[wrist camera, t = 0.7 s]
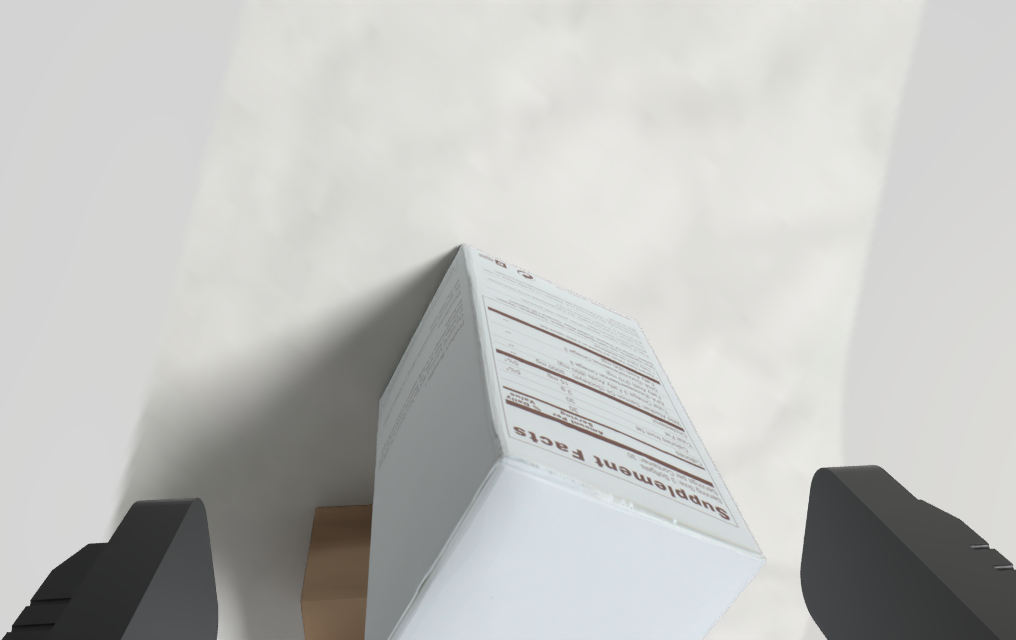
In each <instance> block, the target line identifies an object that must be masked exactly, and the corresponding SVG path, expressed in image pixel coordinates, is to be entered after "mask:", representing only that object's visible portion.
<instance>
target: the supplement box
mask: <svg viewBox="0 0 1016 640" xmlns="http://www.w3.org/2000/svg"><path fill="white" fill-rule="evenodd" d="M765 563H766V558H765V557H764V555H763V553H762V551H761V549H760V547H759V546H758V544H757V542H756V540H755V538H754V536H753V534H752V533H751V531H750V529H749V527H748V525H747V524H746V522H745V520H744V518H743V516H742V514H741V512H740V510H739V508H738V506H737V505H736V503H735V501H734V499H733V497H732V495H731V494H730V492H729V490H728V488H727V486H726V484H725V483H724V481H723V479H722V477H721V475H720V473H719V471H718V469H717V467H716V466H715V464H714V462H713V460H712V458H711V457H710V455H709V453H708V451H707V449H706V447H705V445H704V444H703V442H702V440H701V438H700V436H699V435H698V433H697V431H696V429H695V427H694V425H693V424H692V422H691V420H690V418H689V416H688V414H687V412H686V410H685V409H684V407H683V405H682V403H681V401H680V399H679V397H678V395H677V394H676V392H675V390H674V388H673V386H672V385H671V382H670V380H669V378H668V376H667V375H666V373H665V371H664V369H663V367H662V366H661V364H660V362H659V360H658V358H657V356H656V354H655V352H654V350H653V349H652V347H651V345H650V343H649V341H648V339H647V337H646V336H645V334H644V332H643V330H642V328H641V327H640V325H639V323H638V322H637V321H636V320H634V319H632V318H629V317H627V316H624V315H622V314H620V313H618V312H616V311H614V310H612V309H610V308H607V307H605V306H603V305H601V304H598V303H596V302H594V301H592V300H590V299H588V298H585V297H583V296H581V295H578V294H576V293H574V292H572V291H569V290H567V289H565V288H563V287H561V286H559V285H556V284H554V283H552V282H550V281H547V280H545V279H543V278H541V277H539V276H536V275H534V274H532V273H530V272H528V271H525V270H523V269H521V268H519V267H517V266H514V265H512V264H510V263H507V262H505V261H503V260H501V259H498V258H496V257H493V256H491V255H489V254H487V253H485V252H483V251H481V250H478V249H476V248H474V247H471V246H469V245H466V244H464V245H462V246H461V247H460V249H459V251H458V253H457V255H456V256H455V258H454V260H453V262H452V264H451V265H450V267H449V269H448V271H447V272H446V274H445V276H444V278H443V280H442V282H441V284H440V285H439V287H438V289H437V291H436V293H435V295H434V297H433V299H432V301H431V303H430V304H429V306H428V308H427V310H426V312H425V314H424V316H423V318H422V320H421V322H420V324H419V326H418V327H417V329H416V331H415V333H414V335H413V337H412V339H411V341H410V343H409V345H408V347H407V349H406V351H405V352H404V354H403V356H402V358H401V360H400V362H399V364H398V366H397V368H396V370H395V372H394V374H393V376H392V378H391V380H390V381H389V383H388V385H387V387H386V389H385V391H384V393H383V395H382V397H381V398H380V400H379V416H378V429H377V448H376V465H375V480H374V496H373V511H372V527H371V544H370V558H369V576H368V592H367V607H366V622H365V637H364V640H703V638H704V637H705V636H706V635H707V633H708V632H709V631H710V630H711V629H712V627H713V626H714V625H715V624H716V622H717V621H718V620H719V619H720V617H721V616H722V615H723V614H724V613H725V611H726V610H727V609H728V608H729V607H730V605H731V604H732V603H733V602H734V601H735V599H736V598H737V597H738V596H739V595H740V593H741V592H742V591H743V590H744V589H745V587H746V586H747V585H748V583H749V582H750V581H751V580H752V579H753V578H754V576H755V575H756V574H757V573H758V572H759V570H760V569H761V568H762V567H763V566H764V564H765Z"/></svg>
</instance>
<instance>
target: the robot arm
mask: <svg viewBox="0 0 1016 640" xmlns="http://www.w3.org/2000/svg"><path fill="white" fill-rule="evenodd" d="M800 575H801V586H802V592H803V597H804V600H805V603H806V606H807V608H808V611H809V613H810V615H811V616H812V618H813V620H814V621H815V623H816V624H817V625H818V627H819V628H820V630H821V631H822V632H823V634H824V635H825V637H826V638H827V640H1016V570H1014V569H1013V564H1012V563H1011V562H1010V561H1008V560H1007V559H1006V558H1005V557H1004V556H1003V555H1001V554H1000V553H999V552H998V551H996V550H995V549H990V548H989V544H988V543H987V542H986V541H985V540H984V539H983V538H981V537H980V536H979V535H978V534H977V533H975V532H974V531H973V530H972V529H971V528H969V527H968V526H967V525H966V524H965V523H964V522H962V521H961V520H960V519H958V518H956V517H954V516H952V515H950V514H948V513H946V512H944V511H942V510H941V509H939V508H936V507H935V506H933V505H931V504H928V503H927V502H925V501H923V500H918V499H917V498H915V497H914V496H913V495H912V494H911V493H910V492H908V490H906V489H905V488H904V487H903V486H902V485H901V484H900V483H898V482H897V481H896V480H895V479H894V478H893V477H892V476H891V475H889V474H888V473H887V472H886V471H885V470H884V469H882V468H881V467H879V466H876V465H867V466H848V467H828V468H820V469H819V470H817V472H816V473H815V474H814V476H813V479H812V482H811V488H810V496H809V504H808V512H807V520H806V528H805V536H804V544H803V552H802V561H801V571H800ZM217 631H218V602H217V594H216V586H215V578H214V570H213V562H212V554H211V547H210V539H209V531H208V523H207V516H206V511H205V507H204V504H203V502H202V500H201V499H199V498H186V499H166V500H146V501H137V502H135V503H134V504H133V505H132V507H131V508H130V510H129V511H128V513H127V514H126V516H125V517H124V519H123V520H122V522H121V523H120V525H119V527H118V528H117V530H116V531H115V533H114V534H113V536H112V537H111V539H110V540H109V542H108V543H96V544H95V543H94V544H88V545H86V546H85V547H84V548H82V549H81V550H80V551H78V552H77V553H76V554H74V555H73V556H71V557H70V558H68V559H67V560H66V561H64V562H63V563H62V564H60V565H59V566H58V567H56V568H55V569H53V570H52V571H51V573H50V574H49V575H48V577H47V578H46V580H45V581H44V582H43V584H42V585H41V586H40V588H39V589H38V591H37V592H36V593H35V595H34V596H33V598H32V599H31V604H30V606H26V607H25V609H24V610H23V611H22V613H21V614H20V615H19V617H18V618H17V620H16V621H15V622H14V624H13V625H12V631H11V632H7V634H6V635H5V636H4V637H3V639H2V640H217Z"/></svg>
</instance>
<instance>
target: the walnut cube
mask: <svg viewBox="0 0 1016 640" xmlns="http://www.w3.org/2000/svg"><path fill="white" fill-rule="evenodd" d="M372 511H373V505H355V506H334V507H316V510H315V516H314V522H313V528H312V534H311V540H310V547H309V553H308V559H307V565H306V571H305V577H304V583H303V589H302V596H301V610H302V618H303V625H304V633H305V640H364V637H365V622H366V607H367V592H368V576H369V558H370V544H371V527H372Z"/></svg>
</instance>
